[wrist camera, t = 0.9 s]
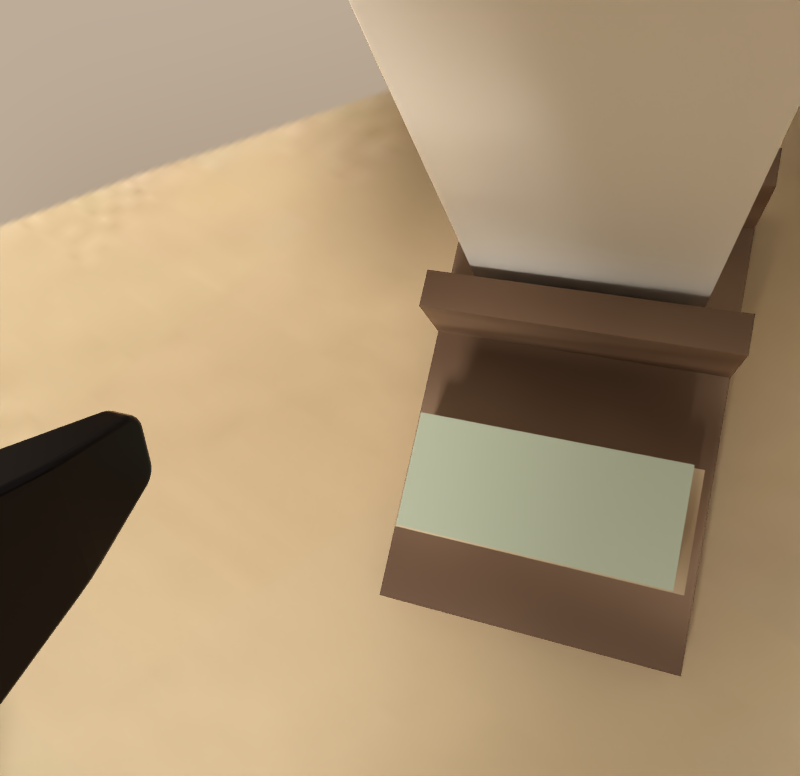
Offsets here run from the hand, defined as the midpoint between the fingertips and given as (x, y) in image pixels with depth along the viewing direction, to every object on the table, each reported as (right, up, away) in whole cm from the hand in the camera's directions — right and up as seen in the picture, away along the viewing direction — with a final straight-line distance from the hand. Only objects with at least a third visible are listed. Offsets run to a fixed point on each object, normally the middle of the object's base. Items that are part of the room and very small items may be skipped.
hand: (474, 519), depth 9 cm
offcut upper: (+3, -1, +10) cm, 11 cm away
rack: (+4, +1, +13) cm, 14 cm away
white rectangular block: (+5, +5, +13) cm, 14 cm away
